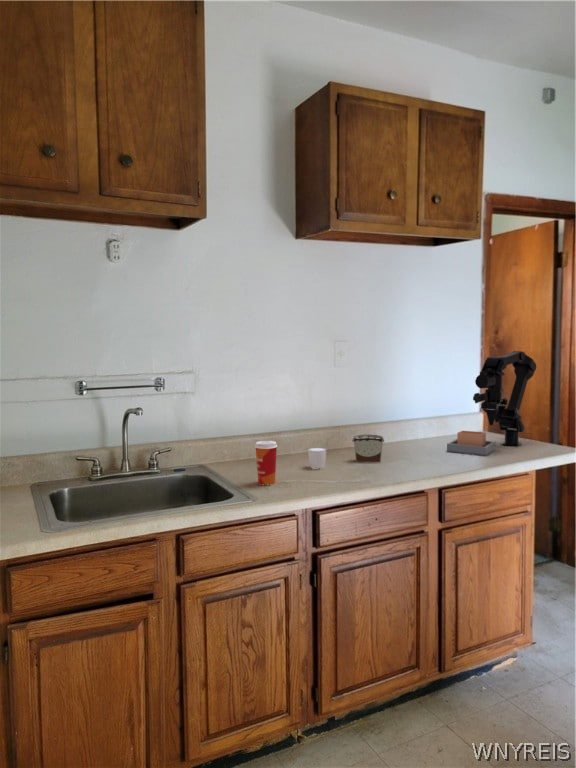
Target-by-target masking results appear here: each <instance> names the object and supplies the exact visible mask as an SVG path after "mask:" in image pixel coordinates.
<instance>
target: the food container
mask: <svg viewBox="0 0 576 768" xmlns="http://www.w3.org/2000/svg"><path fill="white" fill-rule="evenodd" d="M352 443H353V445H354V456H355V463H361V462H382V461H381V460H382V451H383V443H385V438H384V436H382V435H380V434H379V435H378V434H371V433H369V434H357V435H354V436H353V438H352Z"/></svg>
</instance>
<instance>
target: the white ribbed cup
mask: <svg viewBox="0 0 576 768" xmlns="http://www.w3.org/2000/svg"><path fill="white" fill-rule="evenodd" d="M307 451H308V453H307V454H308V462H309V468H310V467H311V468H317V469H319V468H324V467H325V468H326V457H327V448H324V447H312V448H308V449H307ZM311 468H310V469H311ZM325 468H324V469H325ZM319 470H320V469H319Z"/></svg>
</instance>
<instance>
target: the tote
mask: <svg viewBox="0 0 576 768" xmlns="http://www.w3.org/2000/svg"><path fill="white" fill-rule="evenodd" d="M456 439H457V444H460V445H470V446H480V447H485V446H486V441H487V432H483V431H482V432H481V431H470V430H460V431H458V432H457V438H456Z"/></svg>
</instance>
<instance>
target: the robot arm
mask: <svg viewBox="0 0 576 768" xmlns="http://www.w3.org/2000/svg"><path fill="white" fill-rule="evenodd" d="M509 365H512V367H513V370H514V371H513V372H514V375H515V381H514V383H513V387H512V390H511V394H510V397H509V400H508V399H507V398H506V397H503V392H504V388H503V376H505V372H503V371H504V370H505V369H507V366H509ZM536 370H537V363H536V362H535V361H534V359H533V358H532V357H530V356H528V355H527V354H526V353H525V352H524V351H521V350H520V351H519V350H513V351H511V352H509V353H506V354H503V355H500V356H487V357H486V359H485V361H484V363H483V365H482V368H481V370H480V372H479V375H477V377H475V380H474V382H475V385H476V387H477V388H479V389H485V392H483V393H480V392H476V393H474V395H473V396H472V400H473V401H474V404H479V403H480V402H481V404H480V409H481V410H482V411H484V413H486V416H487V420H488V424H489V426H493V425H494V424H495V423H498V425H499V430H500V431H504V442H502V444H501V445H502V446H509V447H510V446H511V447H519V446H521V443H522V442H519V441H520V439H519V435H520V433H523V432H524V430H525V425H524V424H523V422H522V420H521V419H522V416H521V412H520V409H521V405H522V401H523V398H524V394H525V390H526V387H527V384H528V381H529V380H530V379H531V378H533V376H534V375H535V371H536ZM494 422H495V423H494Z"/></svg>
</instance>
